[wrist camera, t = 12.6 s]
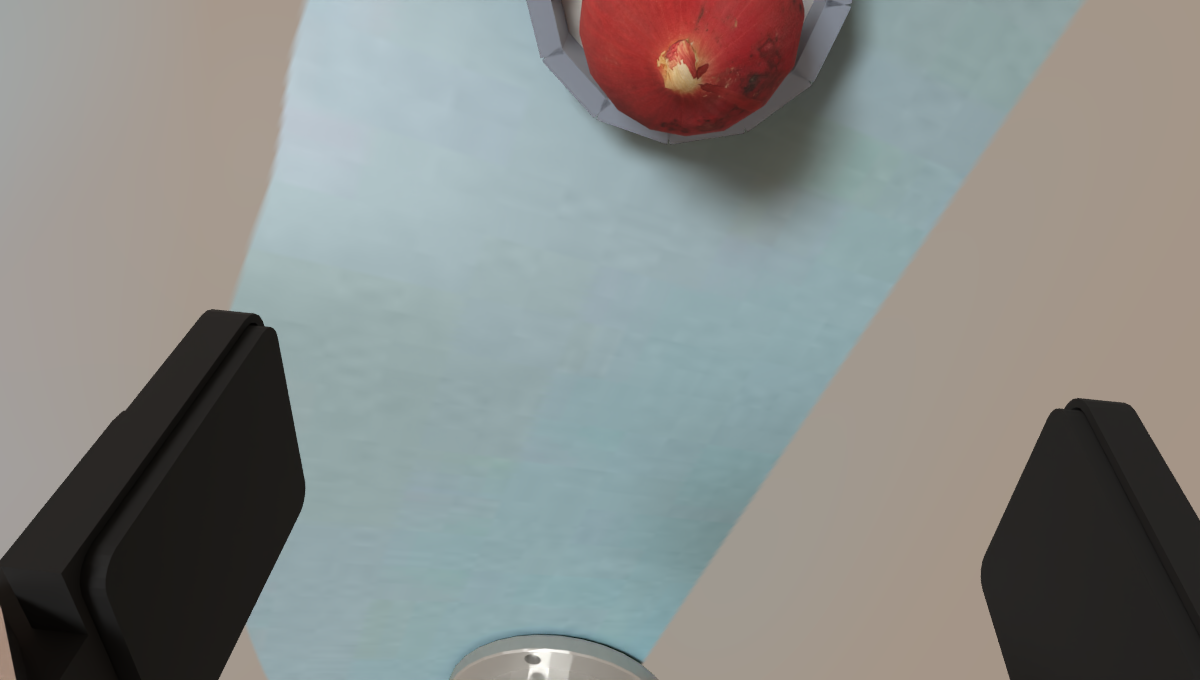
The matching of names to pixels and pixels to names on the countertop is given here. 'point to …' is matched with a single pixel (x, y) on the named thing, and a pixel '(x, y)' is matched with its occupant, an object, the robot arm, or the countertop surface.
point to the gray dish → (563, 53)
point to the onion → (690, 58)
